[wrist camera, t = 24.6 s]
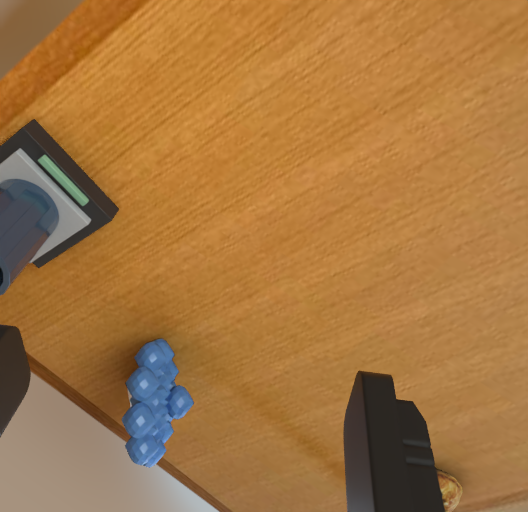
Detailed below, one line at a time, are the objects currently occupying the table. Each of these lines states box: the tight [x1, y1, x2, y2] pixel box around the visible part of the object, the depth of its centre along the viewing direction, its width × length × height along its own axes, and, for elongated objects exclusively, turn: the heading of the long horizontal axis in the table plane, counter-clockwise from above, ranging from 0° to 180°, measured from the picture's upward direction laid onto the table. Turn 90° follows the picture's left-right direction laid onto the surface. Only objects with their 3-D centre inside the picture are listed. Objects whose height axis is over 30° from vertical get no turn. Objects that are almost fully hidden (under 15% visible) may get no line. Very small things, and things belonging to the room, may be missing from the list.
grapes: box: [122, 339, 194, 468], centre depth 51 cm, size 12×7×12 cm, turn 2°
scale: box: [0, 119, 119, 268], centre depth 44 cm, size 10×10×3 cm
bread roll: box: [436, 470, 463, 512], centre depth 64 cm, size 11×11×5 cm
